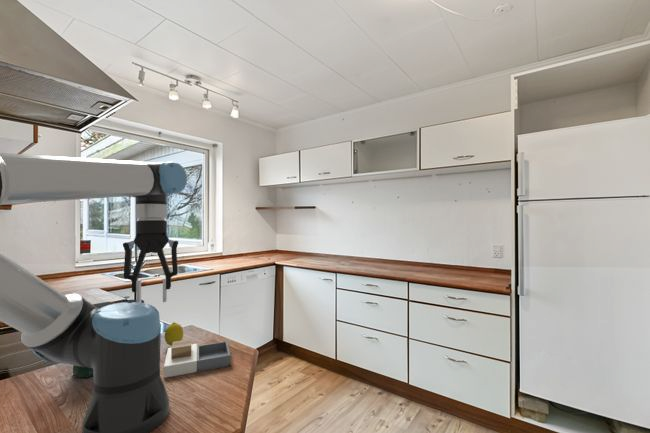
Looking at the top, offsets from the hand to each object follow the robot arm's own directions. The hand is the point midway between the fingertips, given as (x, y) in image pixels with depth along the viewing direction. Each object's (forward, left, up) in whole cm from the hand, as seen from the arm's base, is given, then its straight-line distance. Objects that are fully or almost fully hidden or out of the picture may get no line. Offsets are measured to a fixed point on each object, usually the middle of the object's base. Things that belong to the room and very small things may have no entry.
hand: (152, 302), depth 85 cm
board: (0, -8, -19) cm, 20 cm away
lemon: (+15, -5, -19) cm, 25 cm away
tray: (-1, -16, -19) cm, 25 cm away
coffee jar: (+6, +14, -19) cm, 25 cm away
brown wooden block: (0, -8, -16) cm, 18 cm away
